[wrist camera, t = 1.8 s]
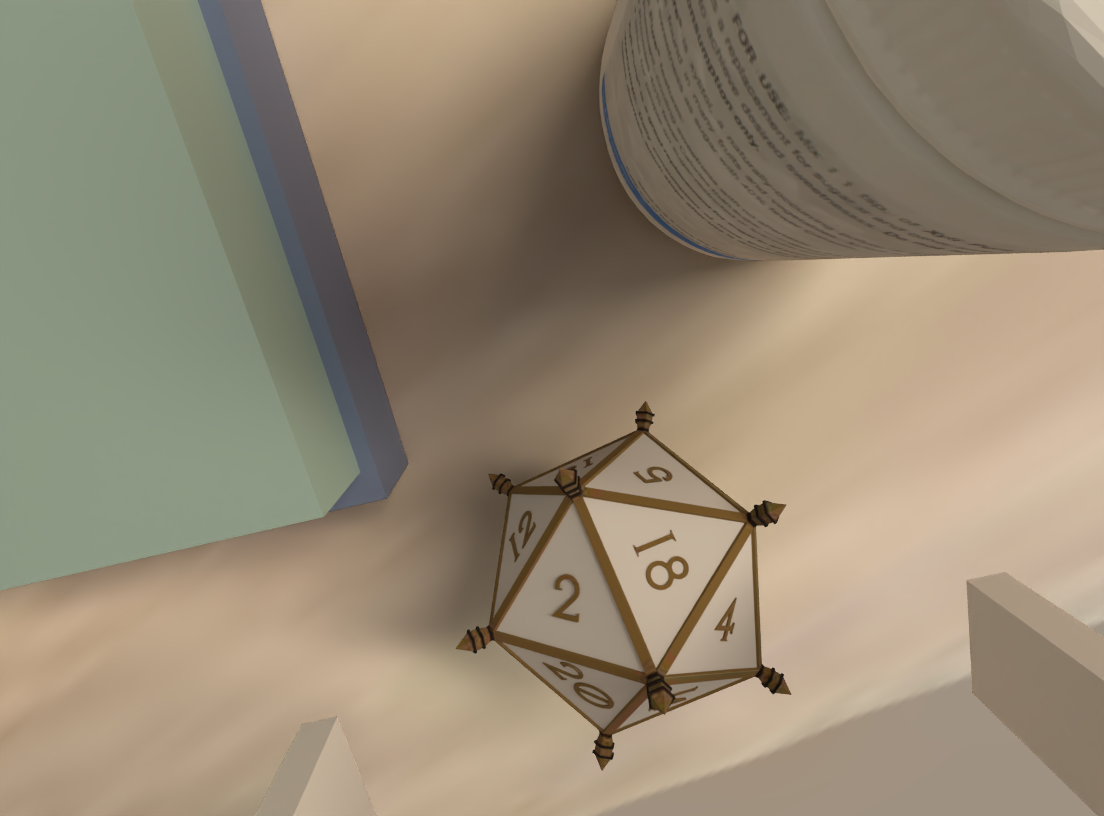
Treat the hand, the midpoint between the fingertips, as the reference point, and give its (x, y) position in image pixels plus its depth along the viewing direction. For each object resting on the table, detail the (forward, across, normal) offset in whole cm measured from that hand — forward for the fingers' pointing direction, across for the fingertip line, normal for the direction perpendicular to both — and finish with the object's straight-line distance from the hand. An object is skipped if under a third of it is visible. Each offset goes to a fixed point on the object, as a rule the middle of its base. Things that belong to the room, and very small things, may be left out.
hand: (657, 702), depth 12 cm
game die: (+10, 0, 0) cm, 10 cm away
